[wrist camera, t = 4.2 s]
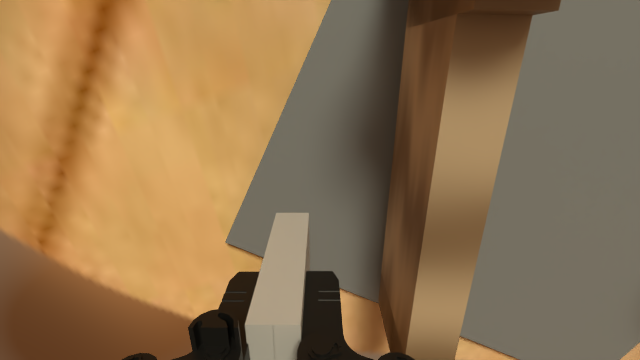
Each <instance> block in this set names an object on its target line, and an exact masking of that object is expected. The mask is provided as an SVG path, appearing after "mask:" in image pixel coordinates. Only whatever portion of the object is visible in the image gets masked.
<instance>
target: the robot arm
mask: <svg viewBox="0 0 640 360" xmlns="http://www.w3.org/2000/svg"><path fill="white" fill-rule="evenodd" d="M309 269H310V240H309V213H276V216H275V219H274V223H273V226H272V230H271V233H270V237H269V240H268V244H267V248H266V251H265V255H264V258H263V262H262V265H261V269H260V272H238V273H237V274H236V275H235V276H234V277H233V278H232V279H231V280H230V281H229V284H228V286H227V289H226V292H225V294H224V296H223V299H222V302H221V304H220V306H219V309H217V310H211V311H208V312H206V313H203V314H201V315H200V316H198V317H197V318H196V319H194V320H193V322H192V323H191V324H190V326H189V327H188V330H189V335H190V340H191V345H192V350H193V351H192V352H191V353H189V354H187V355H185V356H182V357H179V358H176V359H173V360H373V359H370V358H367V357H364V356H361V355H359V354H357V353H356V352H354V351H353V350H352V349H351V348H350V347H349V346H348V345H347V343H346V341H345V340H344V336H343V327H342V314H341V302H340V289H339V280H338V278H337V277H336V275H335V274H334V272H333V271H309ZM122 360H157V359H156V357H155V356H153V355H151V354H149V353H148V354H147V353H139V354H134V355H131V356H128V357H126V358H124V359H122ZM378 360H415V359H413V358H412V357H410V356H409V355H406V354H402V353H399V352H395V353H387V354H385V355H383V356H381V357H380V358H379V359H378Z"/></svg>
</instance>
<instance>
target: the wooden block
mask: <svg viewBox="0 0 640 360" xmlns="http://www.w3.org/2000/svg"><path fill="white" fill-rule="evenodd" d="M560 3H561V0H409V2H408V12H407V22H406V32H405V42H404V52H403V61H402V71H401V81H400V91H399V101H398V111H397V121H396V131H395V141H394V151H393V161H392V171H391V180H390V190H389V200H388V210H387V220H386V230H385V240H384V250H383V260H382V270H381V280H380V289H379V299H378V301H379V306H380V310H381V314H382V318H383V323H384V327H385V331H386V336H387V340H388V344H389V349H390V353H395V352H399V353H402V354H406V355H409V356H410V357H412V358H413V359H415V360H455V355H456V350H457V346H458V342H459V337H460V333H461V328H462V324H463V320H464V315H465V311H466V306H467V302H468V298H469V293H470V289H471V284H472V280H473V276H474V271H475V267H476V262H477V258H478V254H479V249H480V245H481V240H482V236H483V232H484V227H485V223H486V218H487V214H488V210H489V205H490V201H491V196H492V192H493V188H494V183H495V179H496V174H497V170H498V166H499V161H500V157H501V152H502V148H503V144H504V139H505V135H506V130H507V126H508V122H509V117H510V113H511V108H512V104H513V100H514V95H515V91H516V86H517V82H518V78H519V73H520V69H521V64H522V60H523V56H524V51H525V47H526V42H527V38H528V34H529V29H530V25H531V20H532V16H533V15H537V14H542V13H548V12H554V11H559V7H560Z"/></svg>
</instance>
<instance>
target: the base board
mask: <svg viewBox="0 0 640 360" xmlns="http://www.w3.org/2000/svg"><path fill="white" fill-rule="evenodd" d="M408 2H409V0H331V2H330V4H329V7H328V9H327V11H326V14H325V16H324V18H323V20H322V23H321V25H320V27H319V30H318V32H317V34H316V36H315V39H314V41H313V43H312V46H311V48H310V50H309V52H308V55H307V57H306V59H305V61H304V64H303V66H302V68H301V71H300V73H299V75H298V77H297V80H296V82H295V84H294V87H293V89H292V91H291V93H290V96H289V98H288V100H287V103H286V105H285V107H284V109H283V112H282V114H281V116H280V118H279V121H278V123H277V125H276V128H275V130H274V132H273V134H272V137H271V139H270V141H269V144H268V146H267V148H266V150H265V153H264V155H263V157H262V160H261V162H260V164H259V166H258V169H257V171H256V173H255V175H254V178H253V180H252V182H251V185H250V187H249V189H248V191H247V194H246V196H245V198H244V201H243V203H242V205H241V207H240V210H239V212H238V214H237V217H236V219H235V221H234V223H233V226H232V228H231V230H230V233H229V235H228V237H227V239H226V243H228V244H231V245H233V246H236V247H238V248H241V249H243V250H246V251H248V252H251V253H253V254H256V255H258V256H261V257H263V258H264V255H265V251H266V248H267V244H268V240H269V237H270V233H271V230H272V226H273V223H274V219H275V216H276V213H309V240H310V269H309V271H333V272H334V274H335V275H336V277H337V278H338V280H339V288H341V289H344V290H346V291H349V292H351V293H354V294H356V295H359V296H361V297H364V298H366V299H369V300H371V301H374V302H376V303H379V301H378V299H379V289H380V280H381V270H382V260H383V250H384V240H385V230H386V220H387V210H388V200H389V190H390V180H391V171H392V161H393V151H394V141H395V131H396V121H397V111H398V101H399V91H400V81H401V71H402V61H403V52H404V42H405V32H406V22H407V12H408ZM460 336H462V337H464V338H467V339H469V340H472V341H474V342H477V343H479V344H482V345H484V346H487V347H489V348H492V349H494V350H497V351H499V352H502V353H504V354H507V355H509V356H512V357H515V358H517V359H520V360H620V359H621V358H622V357H623V356H625V355H626V354H627V353H628V352H629V351H630V350H631V349H632V348H634V347H635V346H636V345H637V344H638V343H639V342H640V0H561V3H560V7H559V11H554V12H548V13H542V14H537V15H533V16H532V20H531V25H530V29H529V34H528V38H527V42H526V47H525V51H524V56H523V60H522V64H521V69H520V73H519V78H518V82H517V86H516V91H515V95H514V100H513V104H512V108H511V113H510V117H509V122H508V126H507V130H506V135H505V139H504V144H503V148H502V152H501V157H500V161H499V166H498V170H497V174H496V179H495V183H494V188H493V192H492V196H491V201H490V205H489V210H488V214H487V218H486V223H485V227H484V232H483V236H482V240H481V245H480V249H479V254H478V258H477V262H476V267H475V271H474V276H473V280H472V284H471V289H470V293H469V298H468V302H467V306H466V311H465V315H464V320H463V324H462V328H461V333H460Z"/></svg>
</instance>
